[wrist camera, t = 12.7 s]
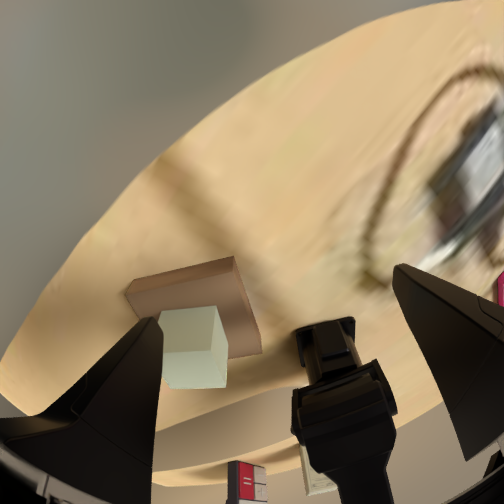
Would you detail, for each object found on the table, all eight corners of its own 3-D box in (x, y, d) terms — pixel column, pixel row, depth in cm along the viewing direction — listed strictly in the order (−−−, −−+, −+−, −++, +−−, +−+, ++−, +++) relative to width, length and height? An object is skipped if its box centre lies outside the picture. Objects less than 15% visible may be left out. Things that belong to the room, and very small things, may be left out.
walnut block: (260, 332, 28) (262, 353, 26) (175, 346, 29) (171, 366, 27) (233, 252, 24) (232, 271, 21) (135, 276, 25) (125, 295, 22)
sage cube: (228, 344, 25) (226, 387, 21) (179, 348, 25) (170, 388, 21) (216, 305, 23) (210, 350, 18) (161, 310, 23) (147, 353, 18)
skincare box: (298, 448, 46) (304, 496, 36) (300, 441, 44) (307, 493, 33) (327, 444, 46) (335, 490, 36) (331, 437, 44) (340, 487, 34)
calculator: (267, 467, 53) (270, 515, 40) (254, 470, 55) (256, 517, 41) (239, 459, 49) (240, 514, 36) (225, 462, 50) (225, 514, 37)
